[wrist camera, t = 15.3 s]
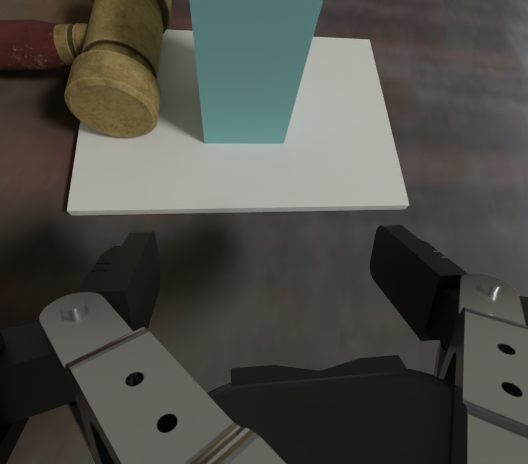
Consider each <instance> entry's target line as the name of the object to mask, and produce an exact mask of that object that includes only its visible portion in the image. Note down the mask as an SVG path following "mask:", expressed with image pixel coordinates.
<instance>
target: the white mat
mask: <svg viewBox="0 0 528 464" xmlns="http://www.w3.org/2000/svg"><path fill="white" fill-rule="evenodd" d="M157 82H158V84H159V86H160V90H161V100H160V108H159V117H158V123H157V126H156V127H155V128H154V130H153V131H151V132H150V133H148V134H146V135H143V136H139V137H117V136H112V135H108V134H105V133H102V132H99V131H97V130H95V129H93V128H91V127H89V126H88V125H86V124H84V123H83V122H81V121H80V126H79V133H78V140H77V146H76V153H75V159H74V166H73V173H72V179H71V186H70V192H69V199H68V206H67V212H68V213H69V214H70V215H122V214H176V213H229V212H283V211H336V210H390V209H405V208H407V207H408V206H409V202H408V198H407V194H406V189H405V185H404V181H403V177H402V173H401V169H400V165H399V160H398V156H397V152H396V148H395V144H394V140H393V136H392V131H391V127H390V123H389V119H388V115H387V111H386V107H385V102H384V98H383V94H382V90H381V86H380V82H379V78H378V73H377V69H376V65H375V61H374V57H373V53H372V48H371V44H370V40H365V39H345V38H325V37H313V39H312V42H311V46H310V50H309V53H308V57H307V61H306V64H305V68H304V72H303V75H302V79H301V82H300V86H299V90H298V93H297V97H296V101H295V104H294V108H293V112H292V115H291V119H290V123H289V126H288V130H287V134H286V137H285V141H284V144H205V143H204V134H203V124H202V115H201V105H200V95H199V86H198V76H197V67H196V57H195V47H194V38H193V31H183V30H166V31H165V33H164V34H163V36H162V44H161V53H160V61H159V69H158V77H157Z"/></svg>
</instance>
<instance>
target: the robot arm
mask: <svg viewBox="0 0 528 464" xmlns="http://www.w3.org/2000/svg"><path fill="white" fill-rule="evenodd" d="M370 272H371V276H372V278H373V280H374V281H375V282H376V284H377V285H378V286H379V287H380V289H381V290H382V291H383V293H384V294H385V295H386V296H387V298H388V299H389V300H390V302H391V303H392V304H393V305H394V307H395V308H396V309H397V311H398V312H399V313H400V314H401V316H402V317H403V318H404V320H405V321H406V322H407V323H408V325H409V326H410V327H411V329H412V330H413V331H414V332H415V334H416V335H417V336H418V338H419V339H420V340H421V341H428V340H439V341H440V344H439V347H438V350H437V356H436V364H435V372H434V376H433V375H430V374H427V373H424V372H421V371H416V370H412V369H407V368H406V366H405V365H404V363H403V362H402V360H401V359H400V357H399V356H398V355H395V356H382V357H370V358H359V359H356V360H353V361H350V362H347V363H343V364H340V365H337V366H334V367H331V368H328V369H325V370H320V371H317V370H308V369H300V368H293V367H285V366H277V365H270V366H257V367H244V368H232V369H231V383H229V384H226V385H223V386H221V387H219V388H216V389H214V390H212V391H210V392H209V393H206V392H205V391H204V390H203V389H202V388H201V387H200V386H199V385H198V383H197V382H196V381H195V380H194V379H193V378H192V377H191V376H190V375H189V374H188V373H187V372H186V371H185V369H184V368H183V367H182V366H181V365H180V364H179V363H178V362H177V361H176V360H175V359H174V358H173V357H172V355H171V354H170V353H169V352H168V351H167V350H166V349H165V348H164V347H163V346H162V345H161V344H160V342H159V341H158V340H157V339H156V338H155V337H154V336H153V335H152V334H151V333H150V332H149V331H148V330H147V329H148V326H149V323H150V319H151V316H152V312H153V309H154V305H155V302H156V298H157V295H158V291H159V287H160V268H159V260H158V252H157V244H156V237H155V233H154V232H153V231H145V232H130V233H129V235H128V236H127V238H126V240H125V241H124V243H123V245H122V246H114V247H112V248H111V249H109V250H108V251H106V252H105V253H103V254H102V255H101V257H100V258H99V260H98V261H97V263H96V265H95V266H94V267H93V269H92V270H91V272H90V273H89V274H88V276H87V277H86V279H85V280H84V282H83V283H82V285H81V286H80V288H79V289H78V291H77V292H76V293H74V294H70V295H67V296H64V297H61V298H59V299H57V300H55V301H53V302H52V303H50V304H49V305H48V306H46V307H45V308H44V309H43V311H42V312H41V314H40V318H39V321H35V322H32V323H28V324H24V325H19V326H15V327H11V328H7V329H3V330H0V464H6V463H7V461H8V459H9V457H10V455H11V453H12V451H13V449H14V447H15V445H16V443H17V441H18V439H19V437H20V435H21V433H22V431H23V429H24V427H25V425H26V423H27V421H28V419H29V417H31V416H34V415H37V414H39V413H42V412H45V411H48V410H51V409H54V408H57V407H60V406H63V405H66V404H67V405H68V408H69V410H70V412H71V414H72V416H73V418H74V420H75V422H76V425H77V427H78V429H79V431H80V433H81V435H82V437H83V439H84V441H85V444H86V446H87V448H88V450H89V452H90V454H91V456H92V458H93V461H94V463H95V464H528V297H523V296H519V294H518V292H517V290H516V289H515V288H514V287H513V286H511V285H510V284H508V283H507V282H505V281H503V280H500V279H498V278H495V277H492V276H489V275H484V274H477V273H470V274H467V273H466V272H465V271H463V270H462V269H461V268H460V267H458V266H457V265H456V264H454V263H453V262H452V261H451V260H449V259H448V258H445V256H444V255H443V254H442V253H440V252H438V250H436V249H435V248H434V247H432V246H431V245H430V244H429V243H427V242H424V241H422V240H420V239H418V238H417V237H416V236H414V235H413V234H412V233H411V232H409V231H408V230H407V229H406V228H404V227H403V226H402V225H381V226H379V227H378V228H377V230H376V234H375V239H374V245H373V250H372V256H371V261H370Z"/></svg>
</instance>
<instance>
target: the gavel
mask: <svg viewBox="0 0 528 464" xmlns="http://www.w3.org/2000/svg"><path fill="white" fill-rule="evenodd" d="M92 3H93V8H92V12H91V16H90V21H89V23H76V24H75V25H73V24H55V23H49V22H44V21H38V20H0V70H52V69H57V68H62V67H66V66H71V70H70V74H69V78H68V82H67V86H66V90H65V102H66V104H67V107H68V108H69V110H70V111H71V112H72V113H73V114H74V116H75V117H76V118H78V119H79V120H80V121H81V122H83V123H84V124H86V125H88V126H89V127H91V128H93V129H95V130H97V131H99V132H102V133H105V134H108V135H112V136H117V137H139V136H143V135H146V134H148V133H150V132H151V131H153V130H154V128H155V127H156V126H157V123H158V117H159V108H160V100H161V90H160V86H159V84H158V82H157V77H158V69H159V61H160V53H161V44H162V36H163V34H164V33H165V31H166V30H167V28H168V25H169V22H170V13H171V4H172V0H92Z"/></svg>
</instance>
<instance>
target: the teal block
mask: <svg viewBox="0 0 528 464" xmlns="http://www.w3.org/2000/svg"><path fill="white" fill-rule="evenodd" d="M322 2H323V0H190V9H191V19H192V28H193V38H194V47H195V57H196V67H197V76H198V86H199V95H200V105H201V115H202V124H203V134H204V143H205V144H284V141H285V137H286V134H287V130H288V126H289V123H290V119H291V115H292V112H293V108H294V104H295V101H296V97H297V93H298V90H299V86H300V82H301V79H302V75H303V72H304V68H305V64H306V61H307V57H308V53H309V50H310V46H311V42H312V39H313V35H314V31H315V28H316V24H317V20H318V17H319V13H320V9H321V6H322Z"/></svg>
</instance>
